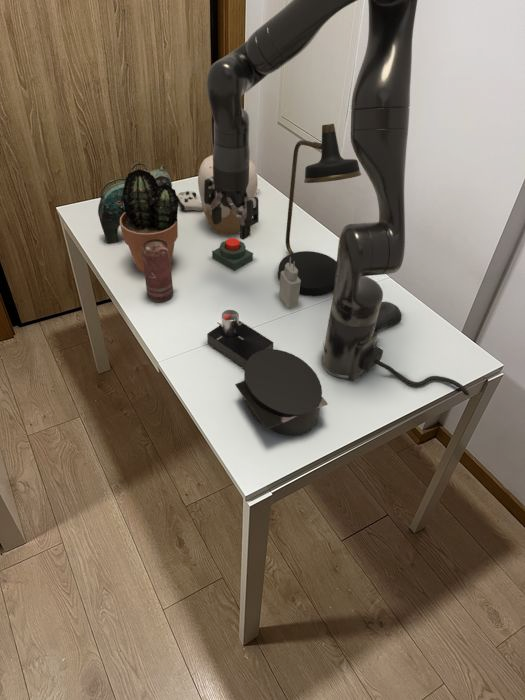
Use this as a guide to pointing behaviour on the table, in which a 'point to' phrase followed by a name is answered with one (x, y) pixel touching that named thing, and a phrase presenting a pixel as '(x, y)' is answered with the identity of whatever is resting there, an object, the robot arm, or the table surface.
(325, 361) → the robot arm
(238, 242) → the button
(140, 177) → the potted plant
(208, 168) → the vase
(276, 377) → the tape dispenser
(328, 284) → the lamp
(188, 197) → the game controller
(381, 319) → the computer mouse
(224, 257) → the box
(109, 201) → the ceramic cat
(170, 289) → the can
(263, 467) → the table surface
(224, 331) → the knob
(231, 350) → the panel
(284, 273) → the power adapter
